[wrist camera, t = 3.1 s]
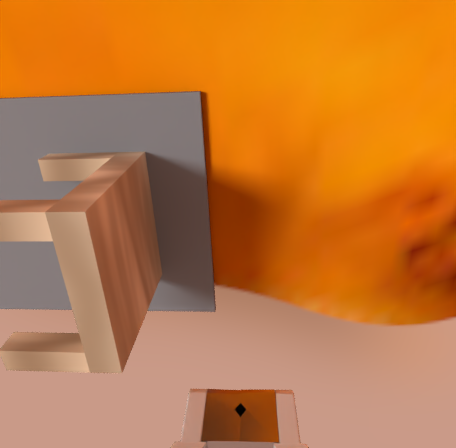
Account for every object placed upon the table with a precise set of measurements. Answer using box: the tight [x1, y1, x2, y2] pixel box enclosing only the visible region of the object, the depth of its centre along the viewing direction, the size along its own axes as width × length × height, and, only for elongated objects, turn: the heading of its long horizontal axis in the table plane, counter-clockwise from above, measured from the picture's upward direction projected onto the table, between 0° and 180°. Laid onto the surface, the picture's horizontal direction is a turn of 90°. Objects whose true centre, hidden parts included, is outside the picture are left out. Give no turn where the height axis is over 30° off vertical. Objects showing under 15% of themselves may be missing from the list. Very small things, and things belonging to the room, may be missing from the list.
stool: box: [0, 152, 162, 373], centre depth 19 cm, size 6×8×8 cm
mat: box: [0, 91, 216, 312], centre depth 23 cm, size 20×14×1 cm
